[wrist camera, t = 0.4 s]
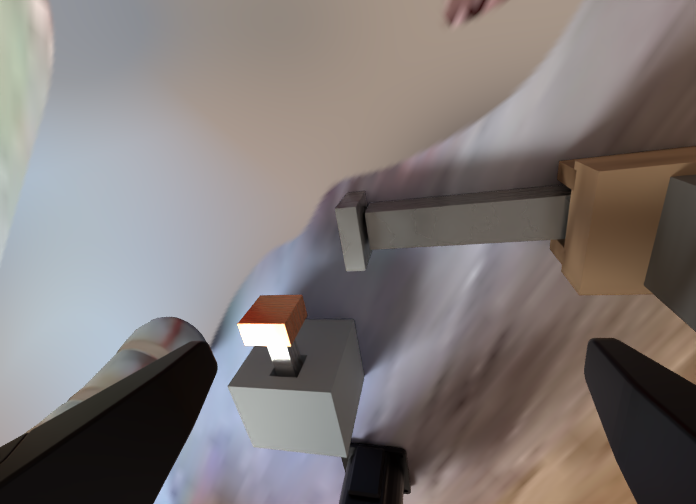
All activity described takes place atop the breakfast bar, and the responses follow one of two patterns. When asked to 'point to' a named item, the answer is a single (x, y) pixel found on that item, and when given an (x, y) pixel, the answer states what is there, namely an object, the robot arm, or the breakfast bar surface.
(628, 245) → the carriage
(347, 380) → the block
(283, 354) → the plunger
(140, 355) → the plastic bottle
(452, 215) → the rail
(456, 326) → the breakfast bar surface
